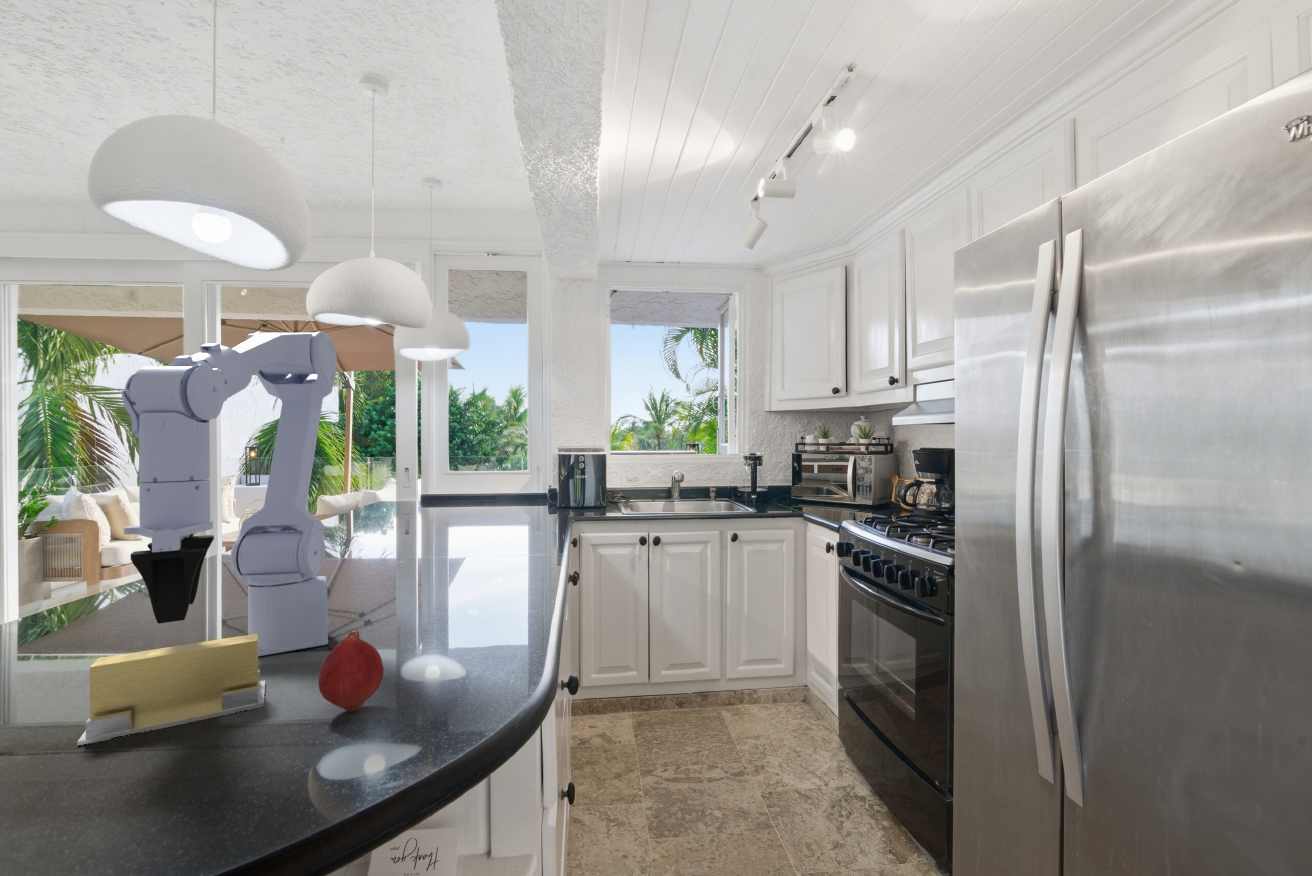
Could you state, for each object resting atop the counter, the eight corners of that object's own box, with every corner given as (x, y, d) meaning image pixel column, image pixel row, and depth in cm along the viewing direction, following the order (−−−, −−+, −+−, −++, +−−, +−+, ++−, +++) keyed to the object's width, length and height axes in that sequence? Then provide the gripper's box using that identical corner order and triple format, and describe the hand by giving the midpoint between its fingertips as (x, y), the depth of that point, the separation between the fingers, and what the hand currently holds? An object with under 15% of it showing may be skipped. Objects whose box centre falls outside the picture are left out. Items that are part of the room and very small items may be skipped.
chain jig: (265, 683, 67) (265, 666, 67) (263, 706, 61) (263, 688, 61) (98, 715, 60) (98, 696, 60) (77, 746, 53) (77, 724, 53)
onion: (317, 729, 55) (316, 643, 56) (320, 706, 61) (319, 628, 61) (385, 715, 58) (384, 633, 58) (382, 694, 63) (381, 619, 63)
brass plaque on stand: (258, 688, 65) (258, 633, 65) (257, 697, 62) (257, 640, 62) (98, 719, 58) (98, 658, 58) (90, 731, 55) (89, 667, 55)
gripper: (138, 480, 65) (139, 604, 65) (107, 486, 53) (108, 637, 53) (217, 477, 69) (218, 594, 69) (206, 482, 57) (207, 623, 57)
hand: (176, 612), depth 61 cm, fingers open, 7 cm apart
